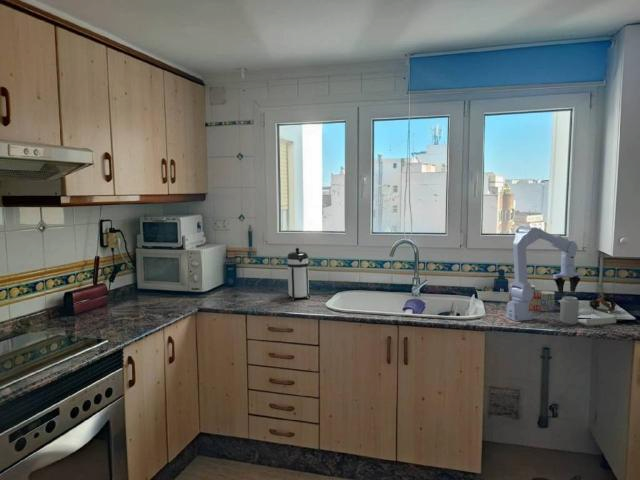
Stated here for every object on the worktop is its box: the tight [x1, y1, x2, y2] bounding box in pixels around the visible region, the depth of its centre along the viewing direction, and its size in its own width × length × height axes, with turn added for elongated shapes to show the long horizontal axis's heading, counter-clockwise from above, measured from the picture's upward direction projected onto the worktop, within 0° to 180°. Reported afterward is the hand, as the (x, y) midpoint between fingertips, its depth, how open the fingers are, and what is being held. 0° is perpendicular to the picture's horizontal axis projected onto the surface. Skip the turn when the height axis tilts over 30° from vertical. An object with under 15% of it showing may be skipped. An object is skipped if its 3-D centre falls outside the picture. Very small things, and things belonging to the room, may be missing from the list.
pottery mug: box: [589, 295, 617, 312], centre depth 234 cm, size 12×10×8 cm
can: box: [559, 295, 580, 326], centre depth 216 cm, size 8×8×12 cm
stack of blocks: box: [508, 282, 556, 313], centre depth 242 cm, size 21×6×12 cm, turn 64°
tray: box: [578, 309, 617, 327], centre depth 219 cm, size 15×13×3 cm
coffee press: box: [286, 247, 311, 299], centre depth 278 cm, size 17×16×30 cm
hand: (566, 292), depth 232 cm, fingers open, 6 cm apart
